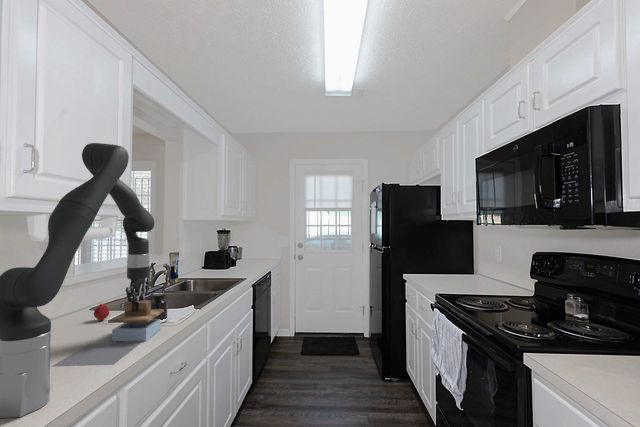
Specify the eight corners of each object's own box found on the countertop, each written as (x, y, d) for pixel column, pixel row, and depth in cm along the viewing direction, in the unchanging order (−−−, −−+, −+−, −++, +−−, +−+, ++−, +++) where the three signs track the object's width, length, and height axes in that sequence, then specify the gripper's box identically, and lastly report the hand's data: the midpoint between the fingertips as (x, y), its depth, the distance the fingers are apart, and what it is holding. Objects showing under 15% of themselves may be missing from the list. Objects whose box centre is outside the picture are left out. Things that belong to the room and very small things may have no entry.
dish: (146, 342, 118) (146, 328, 118) (112, 343, 117) (112, 329, 117) (160, 331, 130) (160, 318, 130) (129, 332, 129) (129, 319, 129)
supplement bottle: (170, 319, 145) (170, 293, 145) (160, 324, 138) (160, 296, 139) (157, 319, 146) (157, 292, 147) (146, 323, 140) (146, 295, 140)
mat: (113, 366, 99) (113, 364, 99) (51, 367, 98) (51, 366, 98) (141, 343, 117) (141, 342, 117) (90, 345, 116) (90, 343, 116)
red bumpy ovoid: (112, 319, 146) (112, 301, 146) (100, 323, 140) (101, 304, 140) (102, 318, 147) (102, 300, 147) (90, 322, 142) (90, 303, 142)
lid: (148, 322, 117) (148, 306, 117) (107, 322, 116) (108, 306, 116) (164, 311, 131) (164, 296, 131) (128, 311, 130) (128, 297, 130)
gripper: (139, 268, 117) (138, 315, 117) (156, 263, 131) (156, 305, 131) (117, 268, 117) (117, 316, 116) (137, 263, 131) (136, 305, 131)
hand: (137, 310), depth 124 cm, fingers closed on lid, 3 cm apart
